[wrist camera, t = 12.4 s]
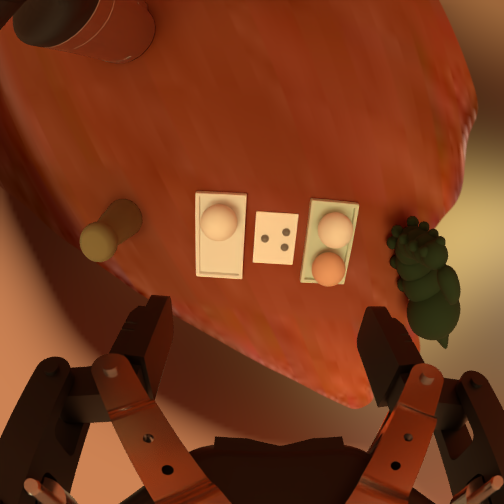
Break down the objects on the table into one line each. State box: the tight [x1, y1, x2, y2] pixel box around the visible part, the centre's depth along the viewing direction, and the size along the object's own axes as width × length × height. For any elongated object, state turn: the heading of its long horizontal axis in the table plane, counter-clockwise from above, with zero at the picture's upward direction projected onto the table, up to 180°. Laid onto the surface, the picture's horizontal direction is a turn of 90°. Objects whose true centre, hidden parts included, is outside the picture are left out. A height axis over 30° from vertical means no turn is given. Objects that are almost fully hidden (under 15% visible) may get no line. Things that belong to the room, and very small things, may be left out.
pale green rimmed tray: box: [300, 198, 359, 284], centre depth 46 cm, size 13×7×1 cm, turn 177°
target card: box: [253, 211, 299, 265], centre depth 46 cm, size 8×6×1 cm
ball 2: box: [318, 212, 353, 248], centre depth 43 cm, size 5×5×5 cm
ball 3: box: [312, 252, 346, 286], centre depth 45 cm, size 5×5×5 cm
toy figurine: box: [387, 216, 460, 349], centre depth 41 cm, size 9×19×25 cm
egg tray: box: [195, 191, 247, 279], centre depth 46 cm, size 13×7×1 cm, turn 177°
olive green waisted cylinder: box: [80, 199, 142, 262], centre depth 41 cm, size 6×6×11 cm
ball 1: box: [200, 204, 237, 241], centre depth 43 cm, size 5×5×5 cm
